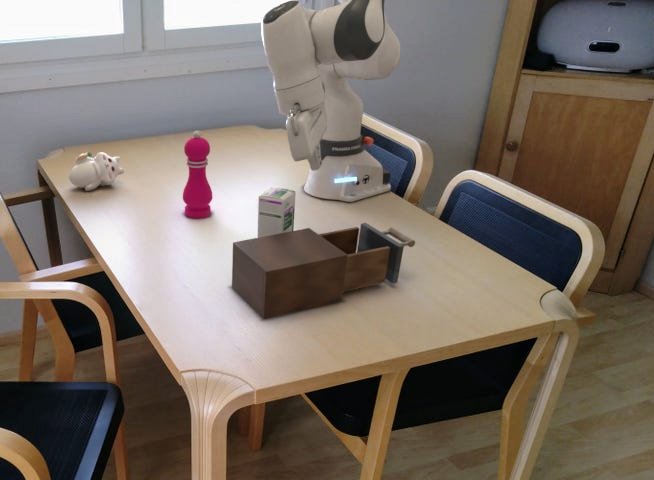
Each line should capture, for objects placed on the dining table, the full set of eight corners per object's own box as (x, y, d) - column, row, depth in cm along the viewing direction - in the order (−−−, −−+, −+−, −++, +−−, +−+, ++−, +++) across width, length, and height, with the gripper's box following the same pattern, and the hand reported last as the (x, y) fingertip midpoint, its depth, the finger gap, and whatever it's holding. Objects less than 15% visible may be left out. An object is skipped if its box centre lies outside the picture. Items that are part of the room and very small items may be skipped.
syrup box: (281, 266, 141) (285, 199, 133) (255, 260, 144) (258, 194, 135) (292, 256, 145) (297, 190, 137) (267, 250, 147) (270, 185, 139)
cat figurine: (65, 156, 176) (118, 141, 180) (61, 164, 184) (112, 150, 188) (77, 192, 177) (130, 176, 181) (73, 198, 185) (123, 183, 189)
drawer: (380, 253, 143) (386, 218, 138) (418, 278, 133) (425, 241, 129) (295, 271, 137) (298, 235, 133) (328, 298, 127) (332, 260, 123)
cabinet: (305, 271, 139) (309, 227, 133) (341, 301, 128) (347, 254, 123) (231, 287, 134) (232, 242, 128) (263, 319, 123) (266, 271, 118)
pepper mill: (209, 220, 162) (210, 135, 151) (180, 218, 164) (178, 134, 153) (214, 208, 168) (214, 126, 157) (186, 207, 170) (184, 126, 158)
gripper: (307, 107, 118) (324, 182, 125) (325, 80, 134) (339, 148, 141) (272, 116, 121) (291, 189, 128) (294, 89, 137) (309, 155, 143)
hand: (316, 167), depth 134 cm, fingers closed
